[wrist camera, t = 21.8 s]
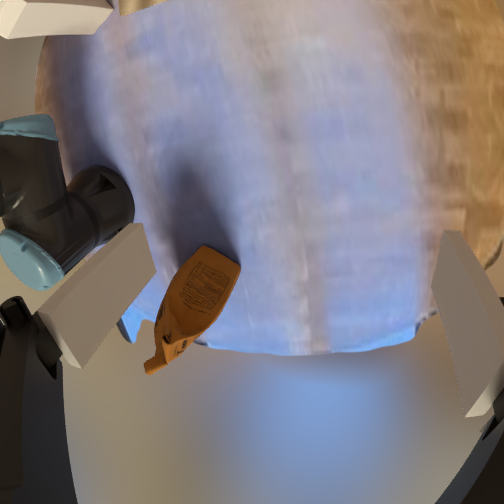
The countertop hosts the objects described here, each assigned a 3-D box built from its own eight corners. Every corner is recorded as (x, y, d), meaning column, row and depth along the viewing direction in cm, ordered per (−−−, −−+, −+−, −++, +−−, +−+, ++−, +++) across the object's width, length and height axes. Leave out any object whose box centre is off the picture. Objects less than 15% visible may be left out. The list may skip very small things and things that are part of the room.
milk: (79, 17, 36) (-23, 22, 18) (99, -8, 33) (-4, -16, 15) (94, 35, 38) (-13, 42, 19) (115, 9, 35) (7, 2, 16)
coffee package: (174, 277, 60) (117, 359, 42) (203, 235, 53) (139, 322, 35) (215, 306, 62) (171, 395, 43) (250, 268, 55) (207, 367, 37)
